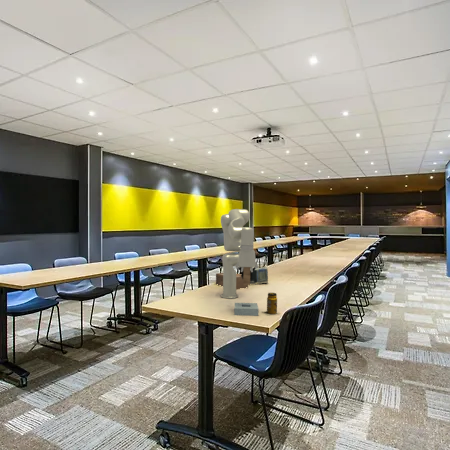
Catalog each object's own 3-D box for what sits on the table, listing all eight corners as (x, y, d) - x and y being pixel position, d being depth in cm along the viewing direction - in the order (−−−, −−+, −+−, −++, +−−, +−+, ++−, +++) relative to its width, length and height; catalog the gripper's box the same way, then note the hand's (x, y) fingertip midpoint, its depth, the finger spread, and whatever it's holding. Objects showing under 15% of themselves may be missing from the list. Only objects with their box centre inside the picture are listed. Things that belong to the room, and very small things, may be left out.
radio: (243, 285, 291) (243, 267, 291) (241, 283, 300) (241, 266, 299) (269, 284, 295) (269, 267, 295) (266, 282, 303) (266, 266, 303)
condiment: (279, 314, 201) (280, 294, 201) (267, 315, 197) (267, 295, 197) (273, 311, 207) (273, 291, 207) (261, 312, 204) (261, 292, 204)
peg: (243, 283, 205) (243, 264, 205) (249, 283, 205) (250, 264, 205) (243, 285, 201) (243, 264, 201) (250, 285, 201) (250, 265, 201)
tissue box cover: (215, 285, 291) (216, 273, 291) (229, 283, 300) (229, 272, 300) (234, 290, 270) (234, 277, 270) (247, 288, 279) (248, 276, 279)
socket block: (234, 308, 211) (234, 302, 211) (257, 309, 210) (257, 303, 210) (234, 315, 197) (234, 308, 197) (258, 315, 196) (258, 308, 196)
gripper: (233, 248, 200) (232, 279, 200) (261, 248, 199) (261, 279, 199) (233, 247, 207) (232, 277, 207) (260, 247, 207) (260, 277, 207)
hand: (246, 278), depth 203 cm, fingers closed on peg, 4 cm apart
